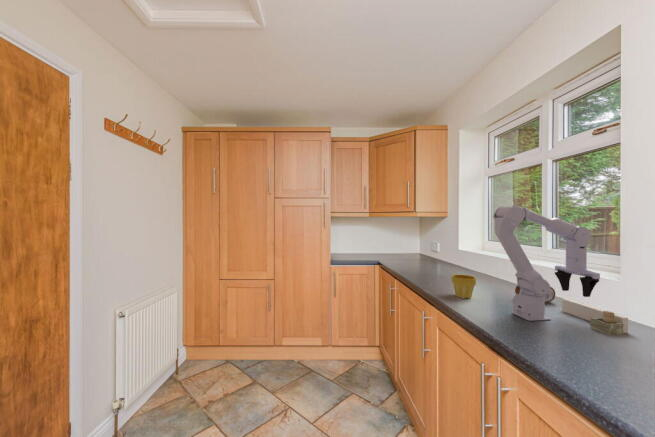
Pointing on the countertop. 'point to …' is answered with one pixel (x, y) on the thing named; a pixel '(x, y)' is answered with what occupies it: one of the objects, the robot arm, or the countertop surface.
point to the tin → (548, 297)
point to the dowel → (608, 317)
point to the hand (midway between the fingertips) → (575, 293)
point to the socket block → (606, 326)
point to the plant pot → (463, 285)
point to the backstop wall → (590, 312)
